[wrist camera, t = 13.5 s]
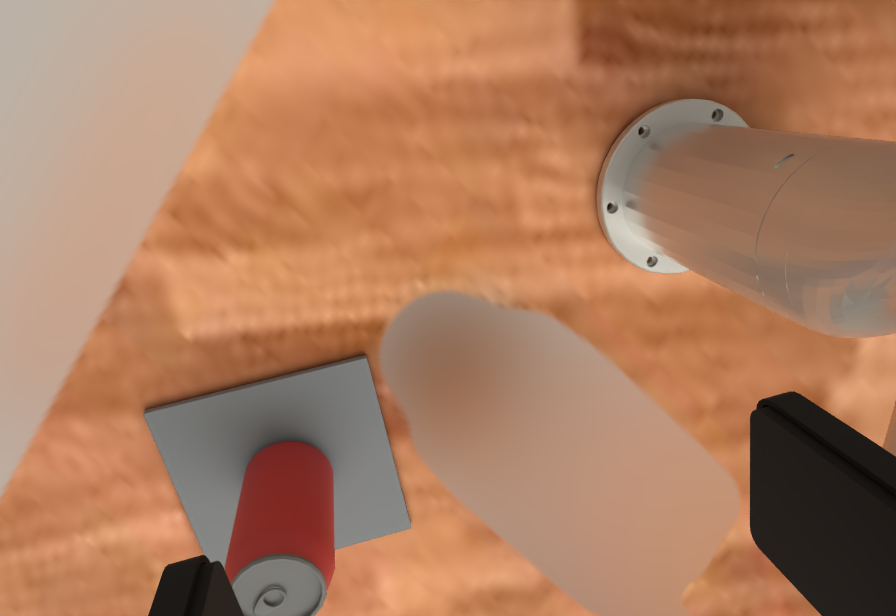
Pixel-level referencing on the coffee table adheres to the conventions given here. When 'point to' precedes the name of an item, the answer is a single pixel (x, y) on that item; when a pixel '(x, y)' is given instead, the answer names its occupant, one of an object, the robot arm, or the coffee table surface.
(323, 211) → the coffee table surface
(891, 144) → the robot arm
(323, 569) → the beer can
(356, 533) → the slate mat
